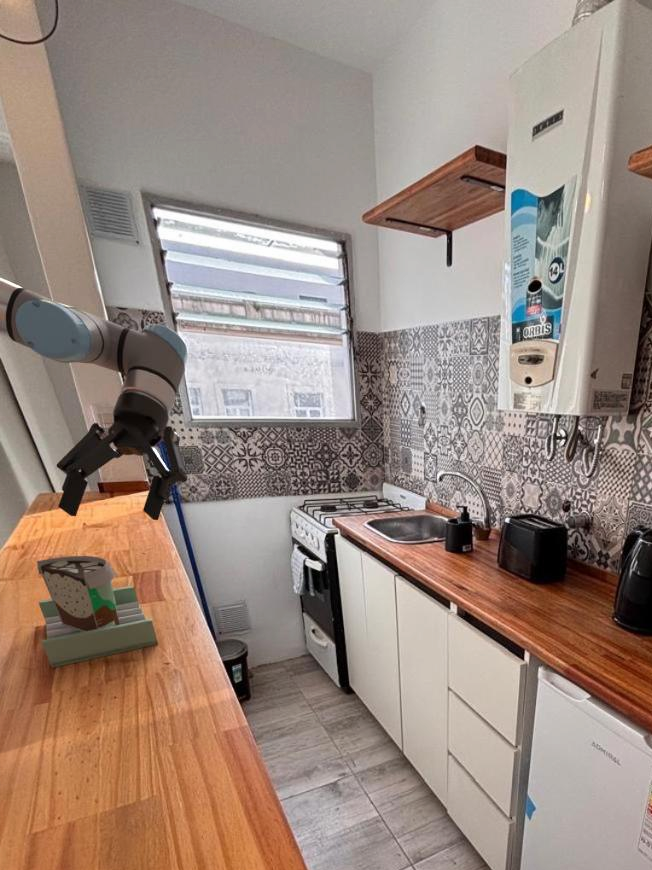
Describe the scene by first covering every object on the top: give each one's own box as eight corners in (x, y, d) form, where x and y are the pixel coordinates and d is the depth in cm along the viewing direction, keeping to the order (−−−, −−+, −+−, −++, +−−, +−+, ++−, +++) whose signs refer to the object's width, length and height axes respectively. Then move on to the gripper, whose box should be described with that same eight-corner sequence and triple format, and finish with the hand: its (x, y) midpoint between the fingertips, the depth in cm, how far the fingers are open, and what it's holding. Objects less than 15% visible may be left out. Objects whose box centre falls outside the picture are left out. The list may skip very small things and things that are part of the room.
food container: (147, 625, 80) (130, 563, 75) (107, 640, 75) (86, 575, 70) (98, 609, 85) (79, 550, 80) (56, 623, 80) (34, 560, 75)
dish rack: (46, 623, 84) (38, 601, 82) (139, 606, 91) (133, 585, 89) (51, 668, 71) (41, 642, 69) (158, 644, 79) (152, 620, 77)
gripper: (226, 425, 92) (198, 529, 85) (90, 419, 92) (51, 522, 86) (204, 392, 85) (172, 503, 78) (57, 386, 85) (11, 496, 78)
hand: (108, 513), depth 82 cm, fingers open, 13 cm apart
